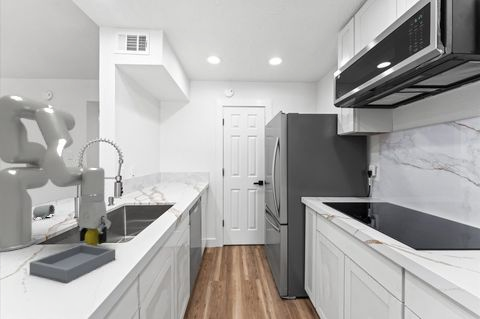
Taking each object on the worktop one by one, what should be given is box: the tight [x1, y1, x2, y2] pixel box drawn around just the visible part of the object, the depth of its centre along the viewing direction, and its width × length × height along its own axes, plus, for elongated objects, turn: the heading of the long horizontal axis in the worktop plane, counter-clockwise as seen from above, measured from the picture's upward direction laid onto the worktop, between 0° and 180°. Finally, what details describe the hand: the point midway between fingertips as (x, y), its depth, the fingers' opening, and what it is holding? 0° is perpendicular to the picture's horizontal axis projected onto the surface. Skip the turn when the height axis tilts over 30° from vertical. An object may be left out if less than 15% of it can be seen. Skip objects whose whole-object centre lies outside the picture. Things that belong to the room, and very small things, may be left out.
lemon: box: [84, 228, 100, 246], centre depth 89 cm, size 6×6×8 cm
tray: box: [29, 243, 116, 284], centre depth 73 cm, size 16×16×4 cm
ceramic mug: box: [32, 204, 55, 219], centre depth 135 cm, size 11×8×8 cm
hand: (93, 241), depth 89 cm, fingers open, 9 cm apart
